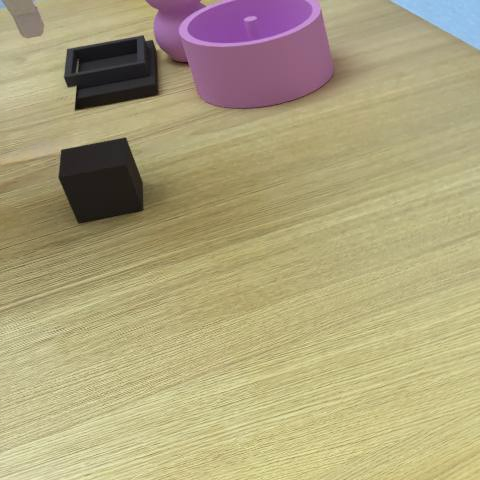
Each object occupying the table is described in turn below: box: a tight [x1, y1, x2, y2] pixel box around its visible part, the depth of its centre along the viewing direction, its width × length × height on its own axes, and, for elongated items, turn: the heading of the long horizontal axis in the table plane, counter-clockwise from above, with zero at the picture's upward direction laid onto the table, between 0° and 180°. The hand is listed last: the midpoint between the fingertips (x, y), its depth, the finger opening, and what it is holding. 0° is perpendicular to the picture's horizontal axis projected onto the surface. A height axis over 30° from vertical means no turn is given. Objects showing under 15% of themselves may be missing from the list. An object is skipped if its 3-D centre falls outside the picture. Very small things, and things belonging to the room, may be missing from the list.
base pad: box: [63, 34, 160, 111], centre depth 120 cm, size 10×14×3 cm
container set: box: [144, 0, 335, 109], centre depth 115 cm, size 25×15×13 cm, turn 49°
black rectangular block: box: [58, 136, 144, 224], centre depth 98 cm, size 6×6×4 cm
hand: (37, 15), depth 88 cm, fingers open, 8 cm apart
